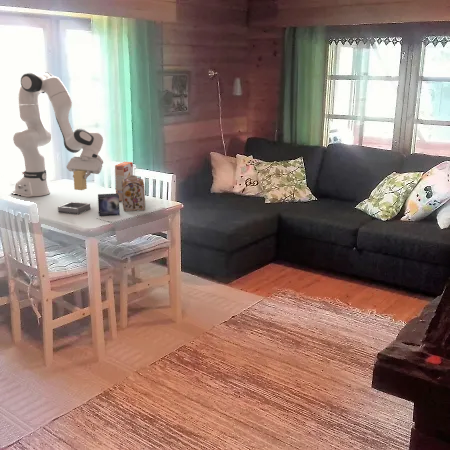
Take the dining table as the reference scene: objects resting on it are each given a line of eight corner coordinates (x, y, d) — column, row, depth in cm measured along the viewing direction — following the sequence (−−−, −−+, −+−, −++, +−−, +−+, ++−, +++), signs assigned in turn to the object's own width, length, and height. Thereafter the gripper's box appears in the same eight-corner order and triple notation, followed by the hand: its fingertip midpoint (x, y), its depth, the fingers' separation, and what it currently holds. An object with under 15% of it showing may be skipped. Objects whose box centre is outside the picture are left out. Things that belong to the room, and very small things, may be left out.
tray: (58, 212, 286) (57, 206, 285) (71, 207, 297) (70, 201, 296) (77, 214, 282) (77, 208, 282) (90, 209, 293) (90, 203, 292)
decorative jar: (122, 206, 300) (121, 174, 295) (143, 205, 303) (142, 173, 298) (123, 211, 289) (122, 178, 284) (145, 210, 292) (144, 177, 287)
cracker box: (125, 201, 310) (124, 165, 304) (115, 201, 311) (114, 165, 305) (134, 196, 323) (133, 161, 317) (124, 195, 324) (123, 161, 318)
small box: (99, 216, 279) (98, 196, 276) (98, 213, 285) (97, 194, 282) (120, 215, 282) (119, 195, 279) (118, 212, 288) (117, 193, 285)
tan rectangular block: (74, 189, 301) (73, 171, 298) (78, 187, 305) (78, 170, 303) (82, 190, 300) (81, 172, 297) (86, 188, 304) (85, 171, 301)
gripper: (69, 153, 307) (60, 173, 301) (101, 155, 301) (92, 176, 295) (74, 159, 312) (65, 179, 306) (106, 162, 306) (97, 182, 300)
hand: (79, 178), depth 300 cm, fingers closed on tan rectangular block, 5 cm apart
